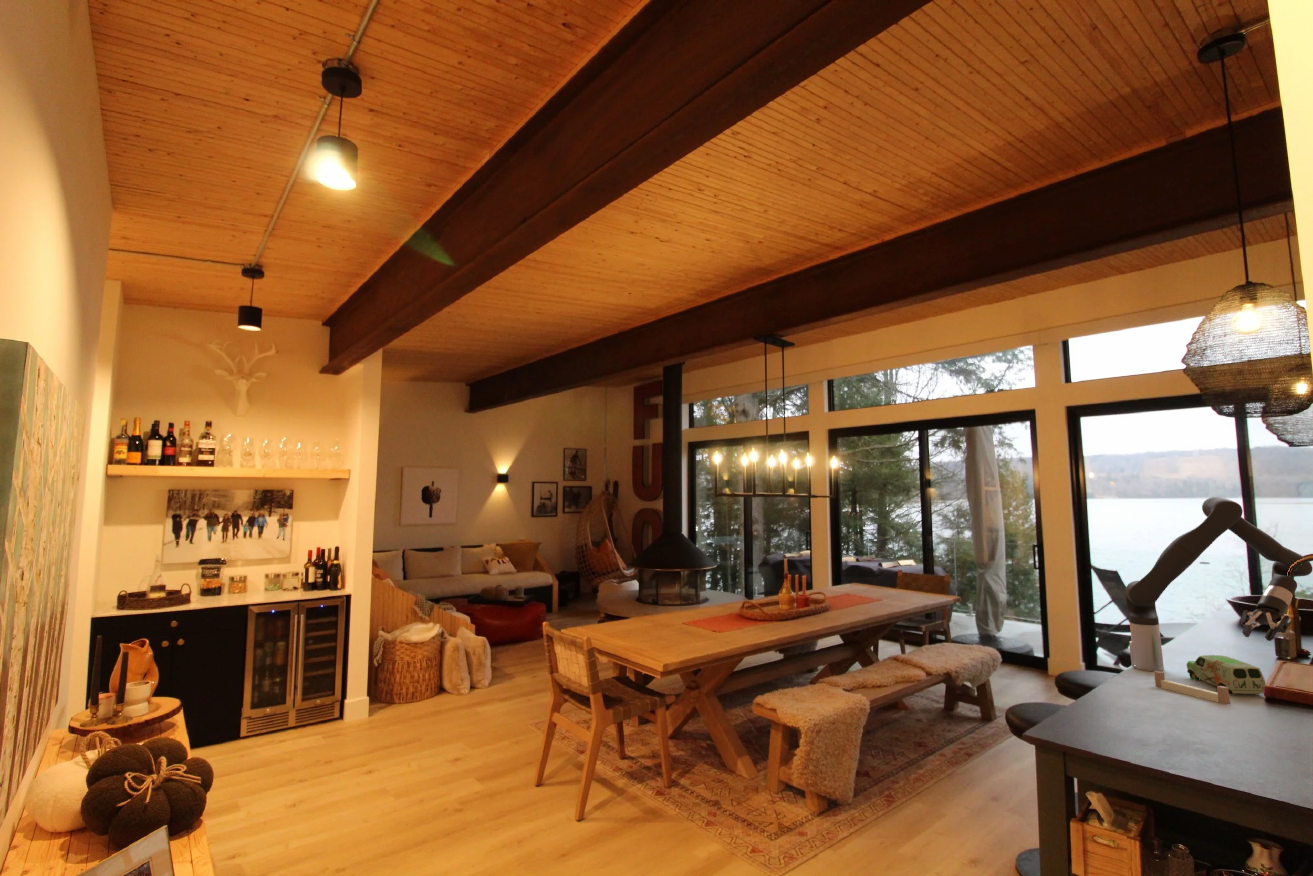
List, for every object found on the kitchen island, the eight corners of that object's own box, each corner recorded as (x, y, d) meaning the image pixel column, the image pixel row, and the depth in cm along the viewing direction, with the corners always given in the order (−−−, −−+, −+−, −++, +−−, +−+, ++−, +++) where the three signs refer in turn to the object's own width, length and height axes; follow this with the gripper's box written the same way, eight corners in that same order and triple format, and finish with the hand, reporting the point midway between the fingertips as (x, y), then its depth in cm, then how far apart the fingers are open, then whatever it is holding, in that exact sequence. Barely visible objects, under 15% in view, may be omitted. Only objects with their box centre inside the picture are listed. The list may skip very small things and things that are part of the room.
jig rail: (1155, 686, 227) (1154, 671, 228) (1159, 685, 228) (1158, 671, 228) (1225, 704, 206) (1223, 688, 207) (1230, 703, 207) (1228, 687, 207)
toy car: (1218, 678, 235) (1215, 649, 236) (1270, 698, 210) (1266, 667, 211) (1185, 677, 237) (1182, 649, 238) (1233, 698, 212) (1229, 667, 213)
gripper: (1246, 592, 240) (1227, 627, 236) (1293, 597, 227) (1274, 634, 222) (1257, 605, 241) (1239, 640, 237) (1305, 611, 228) (1286, 648, 223)
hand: (1256, 637), depth 229 cm, fingers open, 6 cm apart
